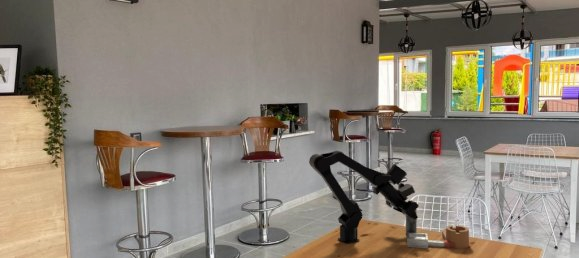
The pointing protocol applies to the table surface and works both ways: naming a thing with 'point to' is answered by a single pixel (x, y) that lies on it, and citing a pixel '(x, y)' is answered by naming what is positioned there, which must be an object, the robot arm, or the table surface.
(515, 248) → the table surface
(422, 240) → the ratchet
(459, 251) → the table surface
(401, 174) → the robot arm
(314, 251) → the table surface
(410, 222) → the dark metal cylinder
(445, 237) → the bracket
